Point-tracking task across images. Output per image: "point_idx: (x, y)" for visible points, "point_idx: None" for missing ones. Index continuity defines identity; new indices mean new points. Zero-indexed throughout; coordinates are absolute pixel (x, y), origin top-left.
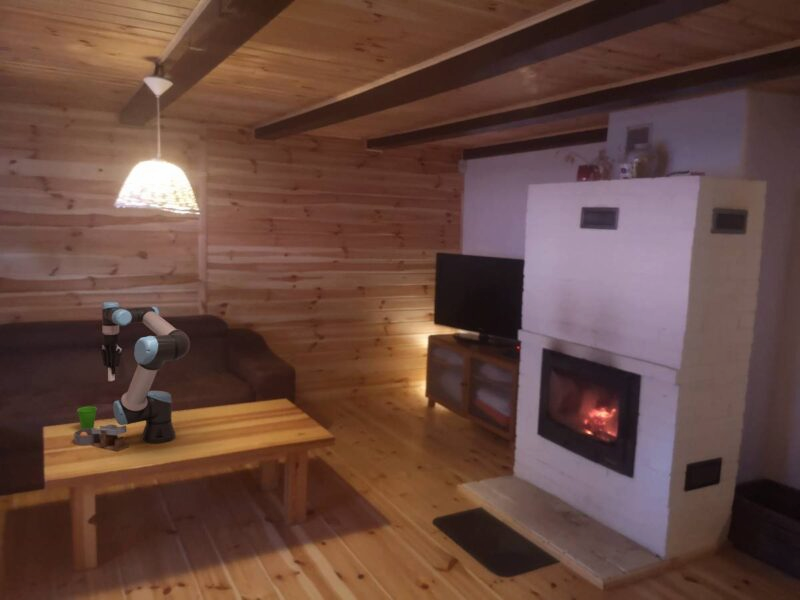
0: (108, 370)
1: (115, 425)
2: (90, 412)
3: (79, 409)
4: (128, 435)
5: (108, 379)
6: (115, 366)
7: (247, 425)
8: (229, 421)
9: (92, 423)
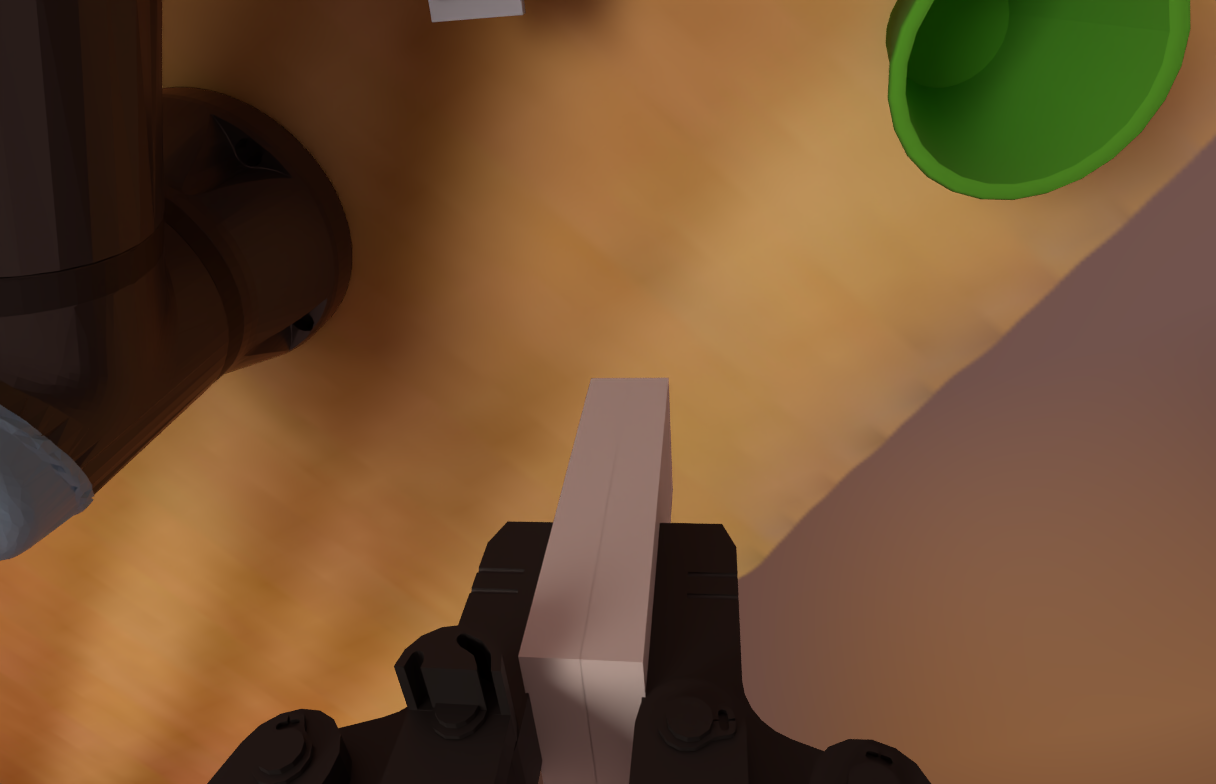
0: (630, 582)
1: (430, 7)
2: (913, 20)
3: (1164, 9)
4: (474, 144)
5: (653, 396)
6: (245, 755)
7: (99, 644)
8: (230, 657)
9: (890, 49)
